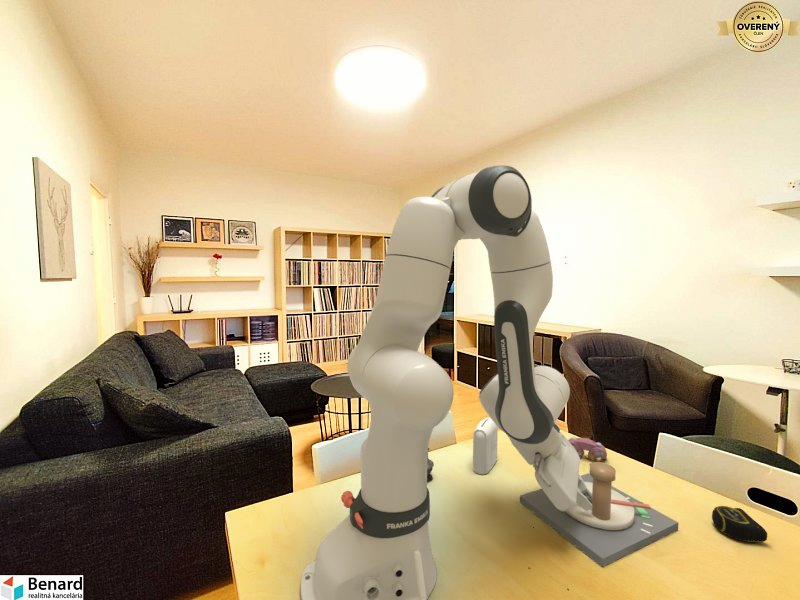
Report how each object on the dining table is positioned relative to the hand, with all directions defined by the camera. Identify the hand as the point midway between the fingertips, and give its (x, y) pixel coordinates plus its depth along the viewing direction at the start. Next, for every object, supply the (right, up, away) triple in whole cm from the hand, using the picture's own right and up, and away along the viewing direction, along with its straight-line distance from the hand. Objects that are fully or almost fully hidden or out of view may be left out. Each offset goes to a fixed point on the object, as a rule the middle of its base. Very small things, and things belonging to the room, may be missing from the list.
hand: (589, 503), depth 72 cm
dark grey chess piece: (-32, -4, +19) cm, 38 cm away
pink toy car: (+14, -4, +29) cm, 32 cm away
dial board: (+3, -5, +4) cm, 7 cm away
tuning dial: (+4, -3, +3) cm, 6 cm away
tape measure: (+28, -5, -1) cm, 29 cm away
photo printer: (-15, -4, +24) cm, 29 cm away
